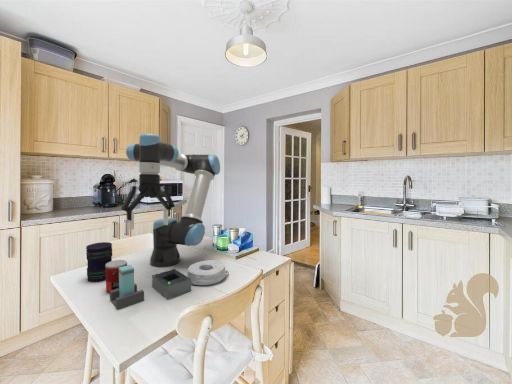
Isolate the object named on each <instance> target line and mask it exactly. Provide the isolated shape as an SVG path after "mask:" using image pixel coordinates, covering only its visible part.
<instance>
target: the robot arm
mask: <svg viewBox="0 0 512 384" xmlns="http://www.w3.org/2000/svg"><path fill="white" fill-rule="evenodd" d="M125 151H126V152H125V154H126V156H127V158H128V159H129V160H130V161H135V162H139V165H138V167H139V168H138V171H139V173H140V174H139V177H138V182H139V183H138V186H136V185H131V186H130V188H129V193H128V194H127V196H126V198H125V200H124V202H123V204H122V206H121V207H120V210H121V211H125V212H126V221H128V222H129V224H128V225H129V228H128V229H130V230H135V212H134V209H135V208H136V207H137V206H138V204H140V202H141V201H142V200H143V199H144V198H156V199H157V201H159V202H160V204H161V205H162V206H163V207H164V209H163V219H162V218H161V219H158V220H155V221H153V224H152V225H153V226H152V227H153V229H152V236H153V238H152V241H153V243H152V244H153V249H152V253H151V255H150V258H149V261H150V262H149V264H150V266H152V267H156V268H157V267H158V268H163V267H171V266H175V265H177V264H179V263H180V261H181V254H180V253H179V250H178V245H180V246H187V247H195V246H198V245H199V244H201V243H202V241H203V240H204V236H205V234H206V228H205V225H204V224H203V223H204V221H203V220H202V215H203V212H204V208H205V204H206V200H207V196H208V192H209V188H210V185H211V181H212V180H214V179H215V177H216V175H219V174H220V172H221V164H220V163H221V162H220V159H219V157H218V156H217V155H216V154H210V153H208V154H183V153H179V152H180V151H179V149H178V147H177V146H176V145H174V144H170V143H165V142H162V141H161V137H160V136H159V135H158V134H155V133H142V134H140V135H139V142H138V143H134V144H133V143H131V144H129V145H128V146H127V147H126V149H125ZM161 166H164V167H169V168H173V169H175V170H176V171H179V172H182V173H187V174H192V175H194V176H195V178H194V181H193V182H194V183H193V185H192V189H191V192H190V196H189V199H188V203H187V207H186V209H185V212H184V213H185V214H184V215H182V216H180V220H179V221H178V220H177V218H175V217H171V210H172V208H175V206H176V205H175V203H174V201H173V199H172V197H171V195H170V193H169V190H168V185H162V186H161V184H160V183H161V175H160V172H161ZM138 191H139V192H140V193H138V195H137V196H136V197H135V194H136V192H138ZM160 191H161V192H162V194H163V196H164V197H163V196H162V195H161V193H160ZM134 197H135V199H134V200H133V198H134ZM164 198H165V199H166V200H165V199H164ZM132 200H133V201H132Z"/></svg>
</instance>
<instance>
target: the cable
mask: <svg viewBox="0 0 512 384" xmlns="http://www.w3.org/2000/svg"><path fill="white" fill-rule="evenodd" d="M186 276H187V277H189V278H190V279H191V285H195V286H209V285H214V284H218V283H220V282H221V281H222V280H224V279H225V278H226V277H228V276H229V270H226V265H225V263H224V262H223V261H221V260H215V259H214V260H213V259H211V260H210V259H208V260H202V261H197V262H194V263H192V264H191V265H189V267H188V268H187V275H186Z"/></svg>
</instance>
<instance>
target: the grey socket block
mask: <svg viewBox="0 0 512 384" xmlns="http://www.w3.org/2000/svg"><path fill="white" fill-rule="evenodd" d="M151 283H152V284H151V287H152V288H153V290H155V291H156V292H157V293H159V294H160V295H161V296H162V297H164V298H165V299H166V300H171V299H174V298H176V297H178V296H182V295H184V294H186V293H188V292H192V284H191V279H190V278H189V277H187V275H185V274H184V273H182V272H180V271H179V270H177V269H175V268H174V269H170V270H166V271H164V272H159V273H157V274H152V276H151Z"/></svg>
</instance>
